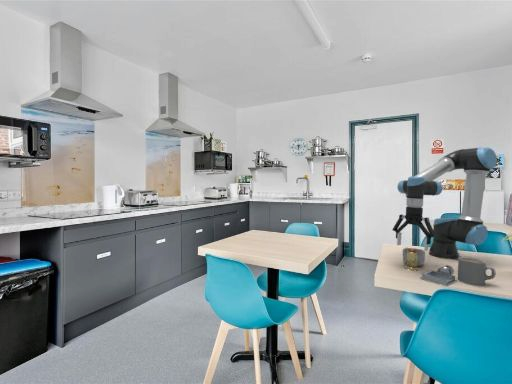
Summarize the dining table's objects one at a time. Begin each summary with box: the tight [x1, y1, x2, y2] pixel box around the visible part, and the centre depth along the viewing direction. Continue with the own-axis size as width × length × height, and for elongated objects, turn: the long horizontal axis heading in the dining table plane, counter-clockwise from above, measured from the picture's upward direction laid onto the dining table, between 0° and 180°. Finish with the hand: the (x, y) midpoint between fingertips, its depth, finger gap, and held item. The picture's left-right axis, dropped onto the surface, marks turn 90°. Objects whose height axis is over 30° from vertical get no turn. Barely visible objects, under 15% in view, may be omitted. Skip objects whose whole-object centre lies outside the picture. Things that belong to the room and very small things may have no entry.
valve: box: [404, 248, 419, 271], centre depth 146 cm, size 6×6×10 cm
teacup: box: [401, 247, 426, 267], centre depth 154 cm, size 14×11×8 cm
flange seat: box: [419, 265, 458, 287], centre depth 131 cm, size 17×11×5 cm, turn 126°
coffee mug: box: [456, 256, 497, 287], centre depth 127 cm, size 13×10×10 cm
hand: (412, 247), depth 145 cm, fingers open, 13 cm apart
